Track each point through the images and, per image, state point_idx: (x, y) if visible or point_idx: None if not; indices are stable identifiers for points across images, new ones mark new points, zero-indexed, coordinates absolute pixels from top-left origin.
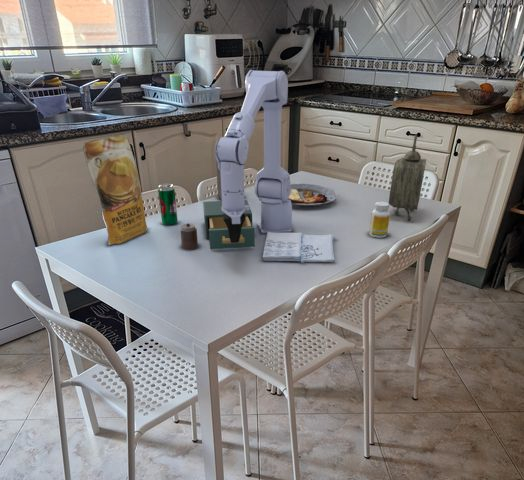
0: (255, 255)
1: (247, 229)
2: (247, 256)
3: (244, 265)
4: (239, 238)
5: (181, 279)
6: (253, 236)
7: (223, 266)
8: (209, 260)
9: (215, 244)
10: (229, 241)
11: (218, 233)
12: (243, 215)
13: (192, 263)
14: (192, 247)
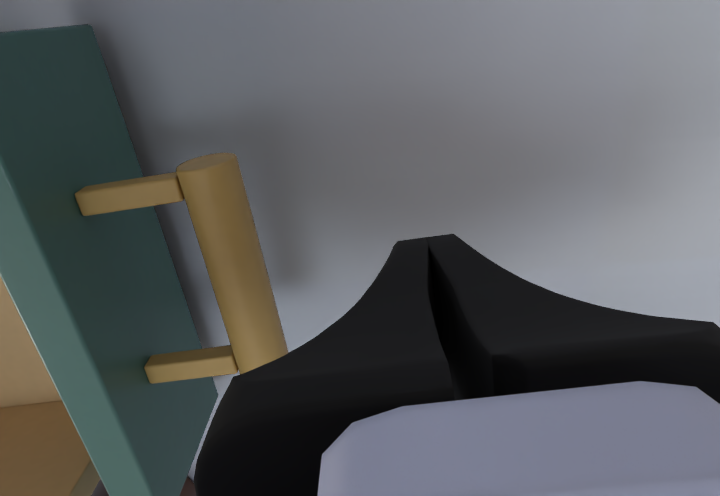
0: (250, 11)
1: (7, 144)
2: (281, 92)
3: (483, 110)
4: (466, 244)
5: None
6: (33, 47)
7: None
8: None
9: (196, 385)
10: (276, 309)
11: (150, 431)
12: (451, 396)
13: None
14: (188, 492)
